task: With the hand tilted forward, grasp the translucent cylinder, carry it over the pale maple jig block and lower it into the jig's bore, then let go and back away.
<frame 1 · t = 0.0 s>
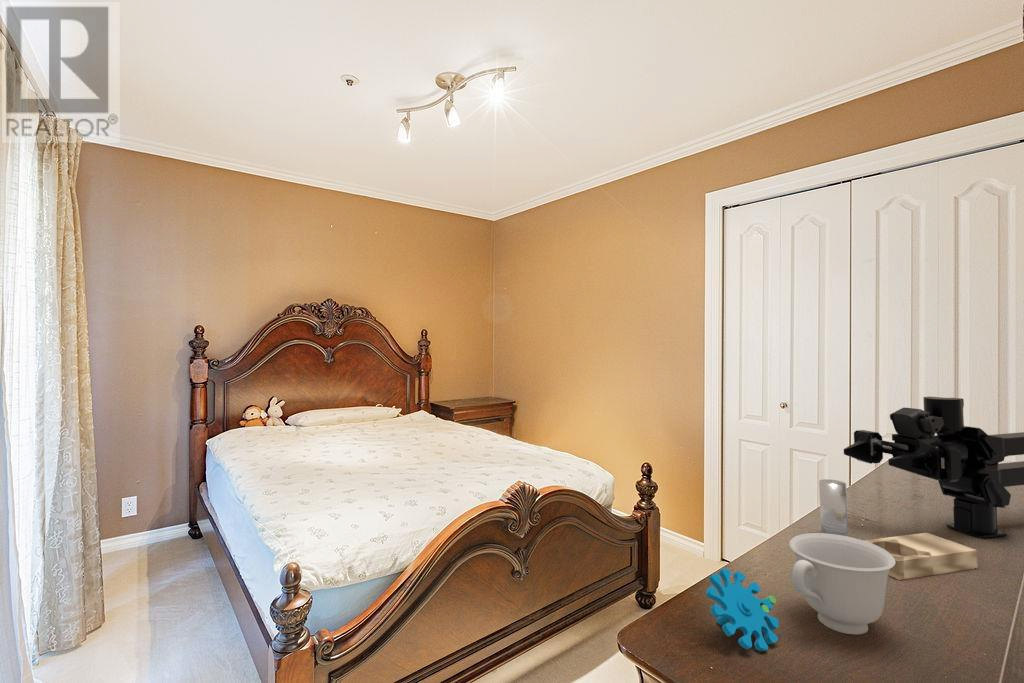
hand: (865, 456, 91), 17 cm above the table, tool horizontal, fingers open, 9 cm apart
translucent cylinder: (834, 539, 94), on the table
teacup: (835, 626, 65), on the table
jig: (914, 563, 83), on the table
gear: (745, 637, 64), on the table
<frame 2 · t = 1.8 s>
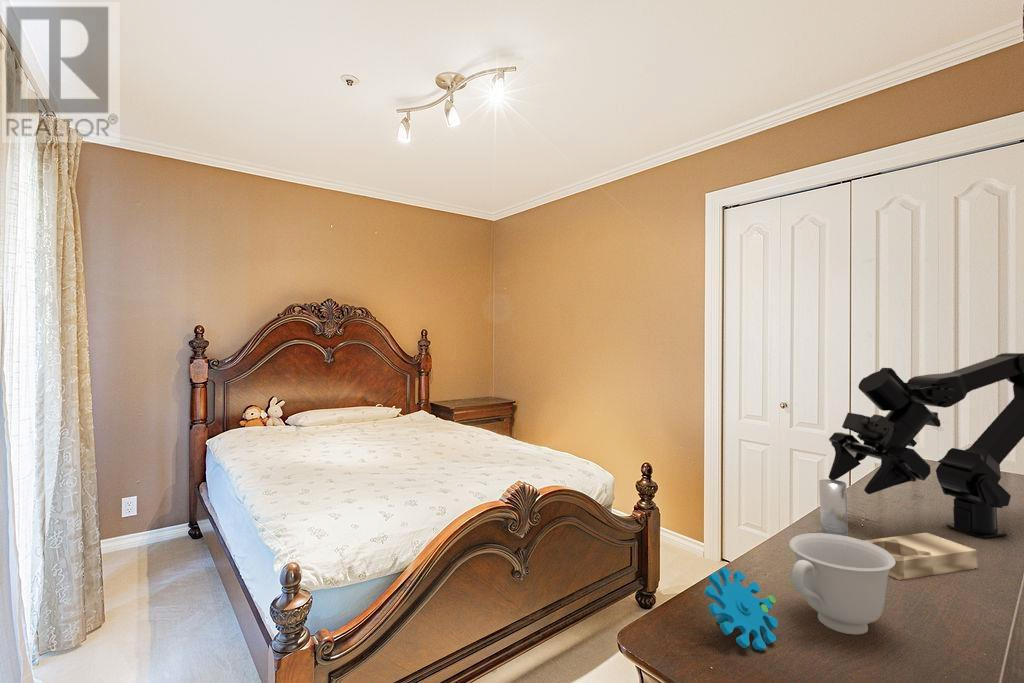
hand: (847, 485, 94), 10 cm above the table, tool tilted 45°, fingers open, 9 cm apart
nothing on the table moved.
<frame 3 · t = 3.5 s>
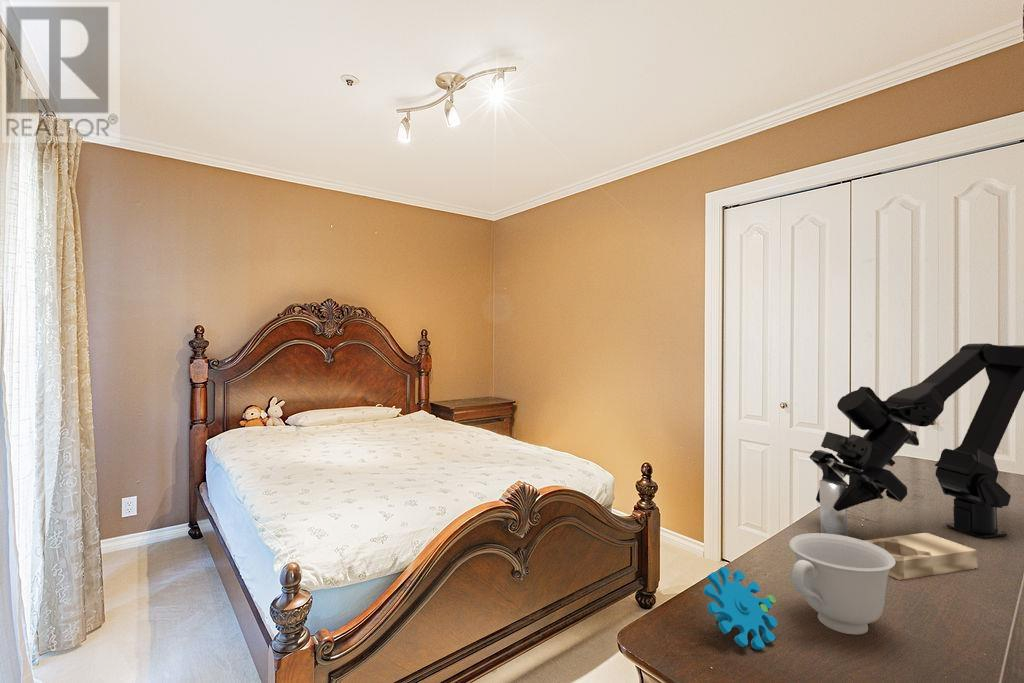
hand: (826, 505, 94), 7 cm above the table, tool tilted 45°, fingers closed on translucent cylinder, 4 cm apart
translucent cylinder: (834, 539, 94), on the table, touching gripper
everything else where it was.
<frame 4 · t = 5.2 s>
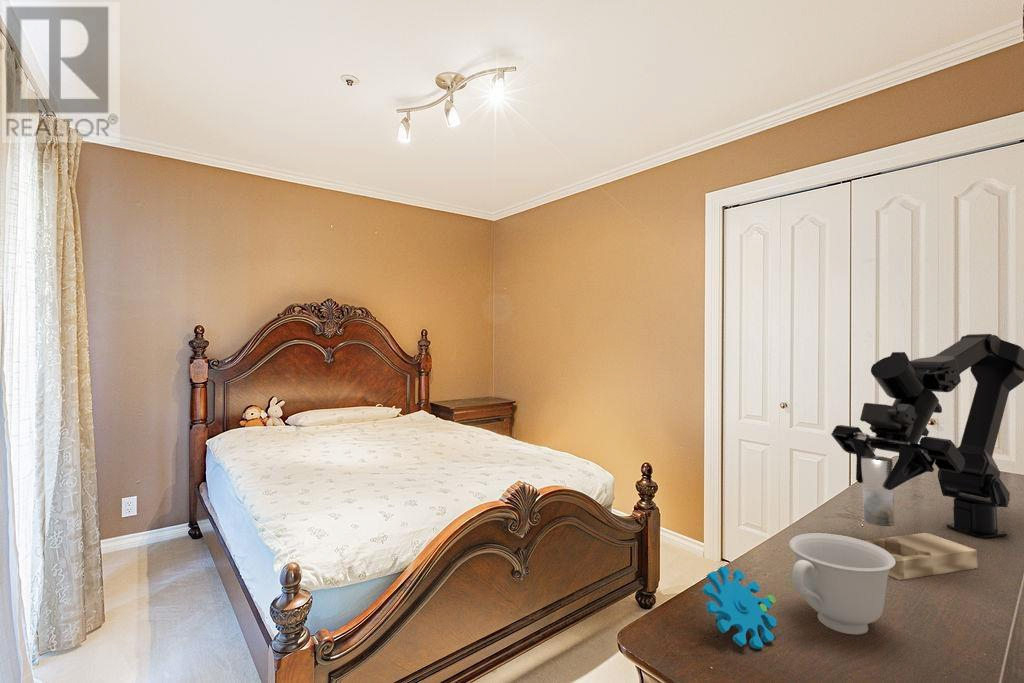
hand: (872, 484, 84), 13 cm above the table, tool tilted 45°, fingers closed on translucent cylinder, 4 cm apart
translucent cylinder: (879, 521, 84), point 7 cm above the table, touching gripper
everything else where it was.
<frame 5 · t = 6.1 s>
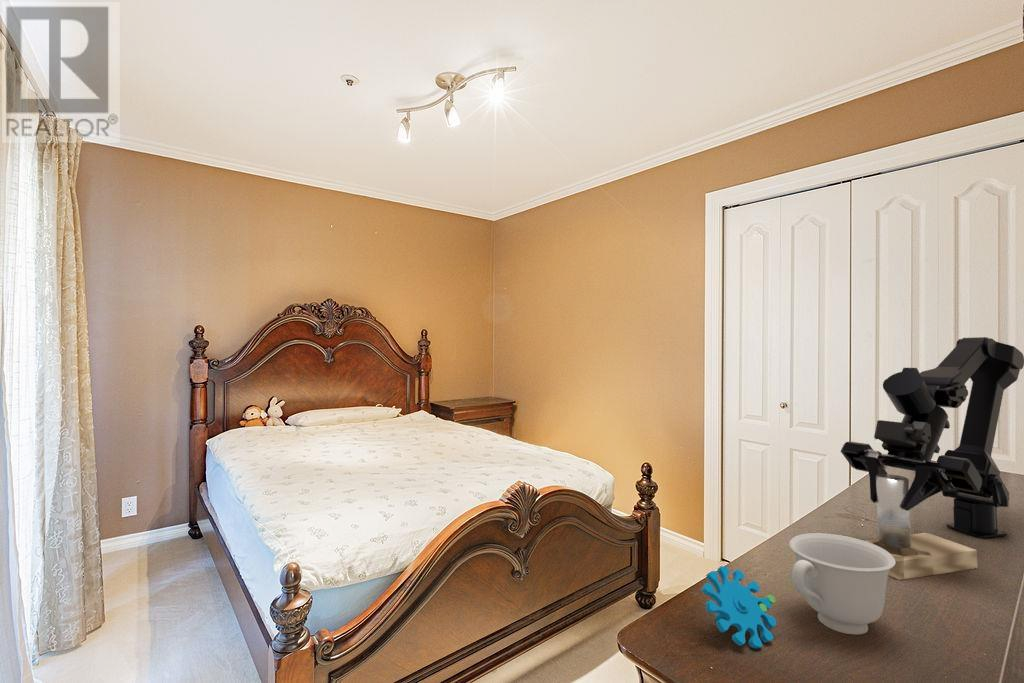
hand: (888, 504, 82), 11 cm above the table, tool tilted 45°, fingers closed on translucent cylinder, 4 cm apart
translucent cylinder: (894, 542, 82), point 4 cm above the table, touching gripper
everything else where it was.
when the fingers open (8 cm above the table, at t = 6.9 s): translucent cylinder drops 2 cm, resting in jig.
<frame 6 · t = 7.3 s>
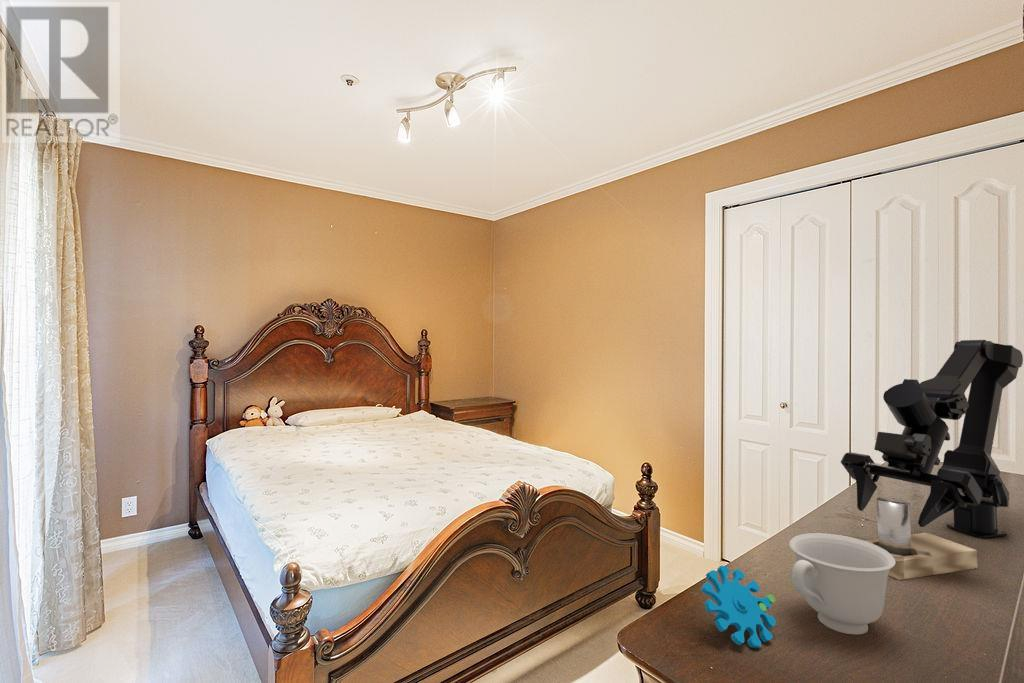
hand: (888, 517, 81), 9 cm above the table, tool tilted 45°, fingers open, 9 cm apart
translucent cylinder: (895, 566, 82), resting in jig
everything else where it was.
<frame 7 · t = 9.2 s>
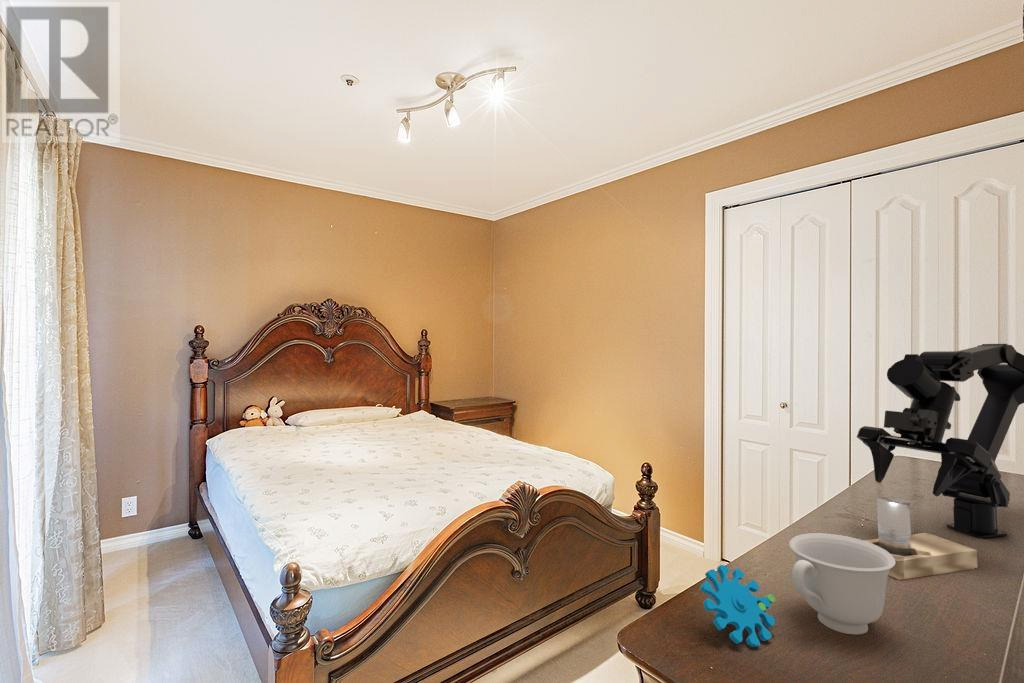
hand: (905, 488, 88), 11 cm above the table, tool tilted 30°, fingers open, 9 cm apart
nothing on the table moved.
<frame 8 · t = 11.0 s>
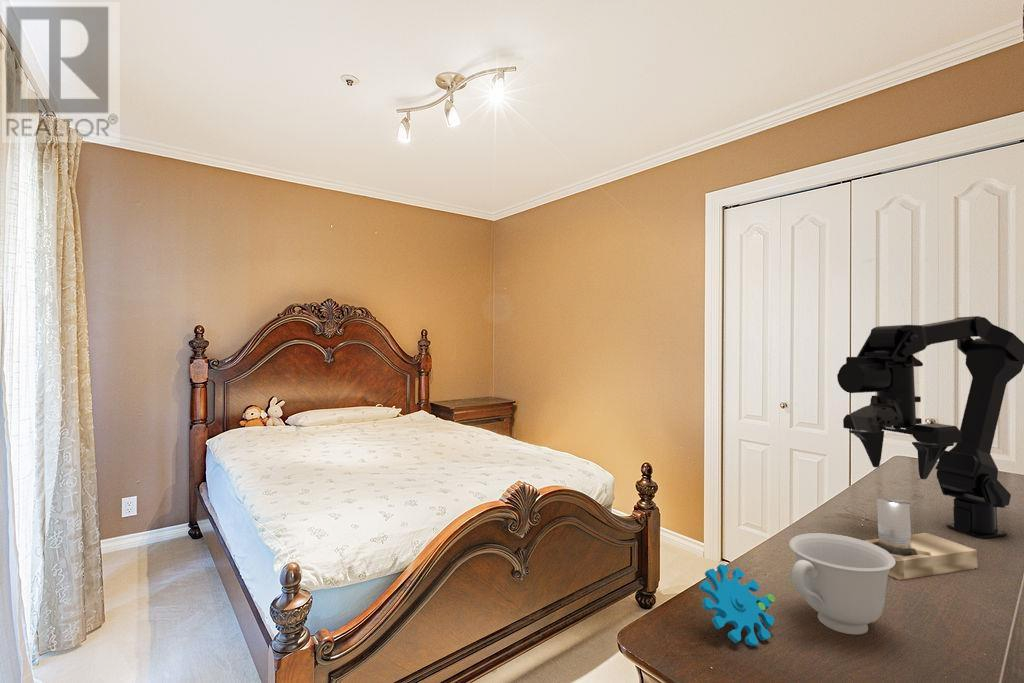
hand: (898, 472, 92), 13 cm above the table, tool pointing down, fingers open, 9 cm apart
at the end: translucent cylinder 0.2 cm from the target spot, resting in jig; translucent cylinder tilted 0°; the gripper is holding nothing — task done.
